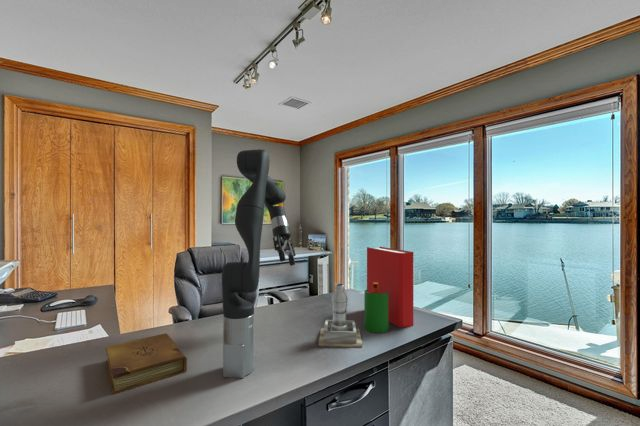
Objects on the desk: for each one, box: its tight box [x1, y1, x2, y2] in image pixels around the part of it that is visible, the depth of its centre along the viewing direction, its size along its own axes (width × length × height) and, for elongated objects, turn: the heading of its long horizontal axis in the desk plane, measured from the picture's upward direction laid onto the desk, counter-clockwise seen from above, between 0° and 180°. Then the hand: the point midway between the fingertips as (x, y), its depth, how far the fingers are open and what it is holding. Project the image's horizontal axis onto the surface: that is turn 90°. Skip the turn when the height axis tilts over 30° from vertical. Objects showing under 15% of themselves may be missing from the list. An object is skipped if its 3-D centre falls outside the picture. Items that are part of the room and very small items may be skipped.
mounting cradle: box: [318, 319, 363, 348], centre depth 119 cm, size 16×16×5 cm
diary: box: [105, 333, 188, 396], centre depth 96 cm, size 23×19×6 cm
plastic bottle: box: [331, 283, 348, 331], centre depth 119 cm, size 6×7×20 cm
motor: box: [363, 282, 390, 334], centre depth 129 cm, size 10×9×20 cm
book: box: [366, 246, 414, 328], centre depth 144 cm, size 27×8×32 cm, turn 23°
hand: (288, 263), depth 126 cm, fingers open, 8 cm apart
